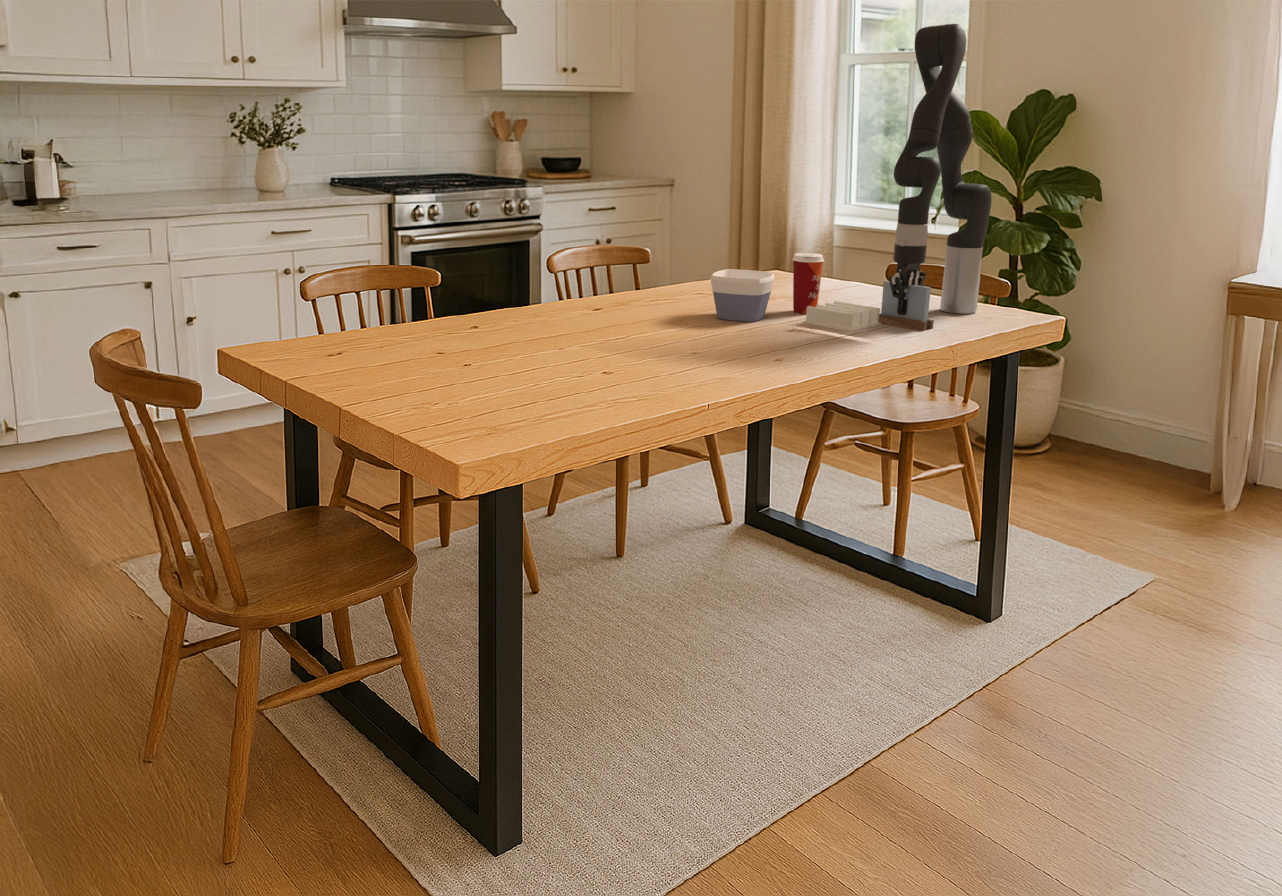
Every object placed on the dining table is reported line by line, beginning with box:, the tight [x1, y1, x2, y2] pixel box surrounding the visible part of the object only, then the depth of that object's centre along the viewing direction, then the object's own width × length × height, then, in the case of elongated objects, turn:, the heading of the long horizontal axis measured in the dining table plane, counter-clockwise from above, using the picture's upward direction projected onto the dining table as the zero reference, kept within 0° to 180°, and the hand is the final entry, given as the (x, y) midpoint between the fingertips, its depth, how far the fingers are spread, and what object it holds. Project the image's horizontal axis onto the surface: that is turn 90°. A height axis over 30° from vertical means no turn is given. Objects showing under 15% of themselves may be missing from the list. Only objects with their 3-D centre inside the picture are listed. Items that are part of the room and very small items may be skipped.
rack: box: [802, 300, 882, 332], centre depth 267 cm, size 13×14×5 cm
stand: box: [879, 313, 935, 332], centre depth 267 cm, size 5×14×3 cm, turn 45°
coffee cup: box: [791, 252, 825, 315], centre depth 284 cm, size 8×8×15 cm
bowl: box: [709, 268, 776, 323], centre depth 275 cm, size 15×15×11 cm
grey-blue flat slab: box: [880, 280, 932, 328], centre depth 265 cm, size 2×12×10 cm, turn 45°
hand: (904, 313), depth 266 cm, fingers closed on grey-blue flat slab, 2 cm apart
